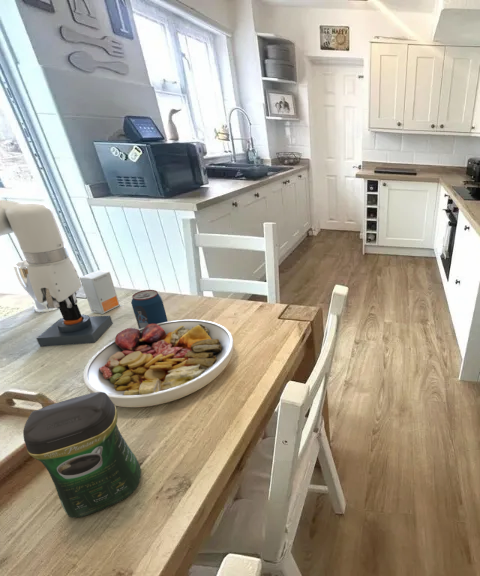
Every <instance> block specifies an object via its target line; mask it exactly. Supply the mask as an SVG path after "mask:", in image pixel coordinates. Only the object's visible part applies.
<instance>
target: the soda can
mask: <svg viewBox="0 0 480 576" xmlns="http://www.w3.org/2000/svg"><path fill="white" fill-rule="evenodd" d="M131 298H132V299H131V302H130V303H131V307H132V310H133V314H134V317H135V320H136V323H137V327H138V329H141V328H144V327H146V326H147V325H149V324H152V323H153V324H159V323H163V322H169V321H168V316H167V313H166V312H167V311H166V309H165V306H164V302H163V301H164V300H163V298H162V296H161V295H160V294H159V292H158V290H156V289H143V290H140V291H137V292H135V293H134V294H132V296H131Z"/></svg>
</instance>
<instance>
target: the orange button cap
mask: <svg viewBox="0 0 480 576" xmlns="http://www.w3.org/2000/svg"><path fill="white" fill-rule="evenodd" d="M81 321H82V317H80V318H79V319H78V320H67V321H65V320H64V323H65V325H71V324H75V323H78V322H81Z"/></svg>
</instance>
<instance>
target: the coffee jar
mask: <svg viewBox="0 0 480 576" xmlns="http://www.w3.org/2000/svg"><path fill="white" fill-rule="evenodd" d="M117 423H118V410H117V406H115V405H114V404H113V402H112V401H111V400H110V398H109V397H108V395H107V394H106V393H104V392H95V393H90V392H89V393H87V394H83V395H78V396H76V397H75V396H74V397H72V398H68V399H65V400H62V401H59V402H55V403H52V404H50V405H46V406H44V407H41V408H39V409H36V410H33V411H31V413H30V414H29V416H28V417H27V419H26V421H25V424H24V426H23V431H22V432H23V433H22V434H23V441H24V443H25V448H26V451H27V453H28V455H30V456H31V457H32V458H33V459H35V460H37V461H38V462H40V463H41V464H42V465H43V466H44V467H45V469H46V470H47V472H48V474H49V476H50V478H51V480H52V482H53V485H54V487H55V491H56V493H57V496H58V498H59V502H60V504H61V506H62V508H63V510H64V512H65V514H66V516H68V517H70V518H74V519H79V518H83V517H86V516H89V515H92V514H95V513H98V512H100V511H103V510H104V509H107V508H109V507H112V506H113V505H116V504H117V503H119V502H121V501H124V500H125V499H127V498H128V497H130V496H131V495H132V494H133V493H134V492H135V491H136V489H137V488H138V487H139V484H140V482H141V476H142V475H141V474H142V470H141V464H140V463H139V460H138V459H137V457H136V455H135V454H134V452H133V450H132V449H131V448H130V446H129V445H128V443H127V442H126V440H125V438H124V437H123V435H122V434H121V432H120V430H119V428H118V425H117Z"/></svg>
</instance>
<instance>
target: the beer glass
mask: <svg viewBox="0 0 480 576" xmlns="http://www.w3.org/2000/svg"><path fill="white" fill-rule="evenodd" d="M12 265H13V268H14V269H13V270H14V272H15V276H16V277H17V279H18V282H19V283H20V286H22V288H23V290H24V291H25V292H26V293H27V294H28V296H29V297H30V298H31V300H32V303H33V307H34V311H35V312H36V313H40V312H42V314H43V313H49V311H50V312H54V311H56V310H58V308H50V309H49V308H48V304H47V301H46V302H43V303H39V302H38V300H37V298H36V296H35V294H34V291H33V288H32V285H31V282H30V279H29V275H28V268H27V266H28V263H27V261H26V259H25V260H21V261H18V262H16V263H14V264H12Z"/></svg>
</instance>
